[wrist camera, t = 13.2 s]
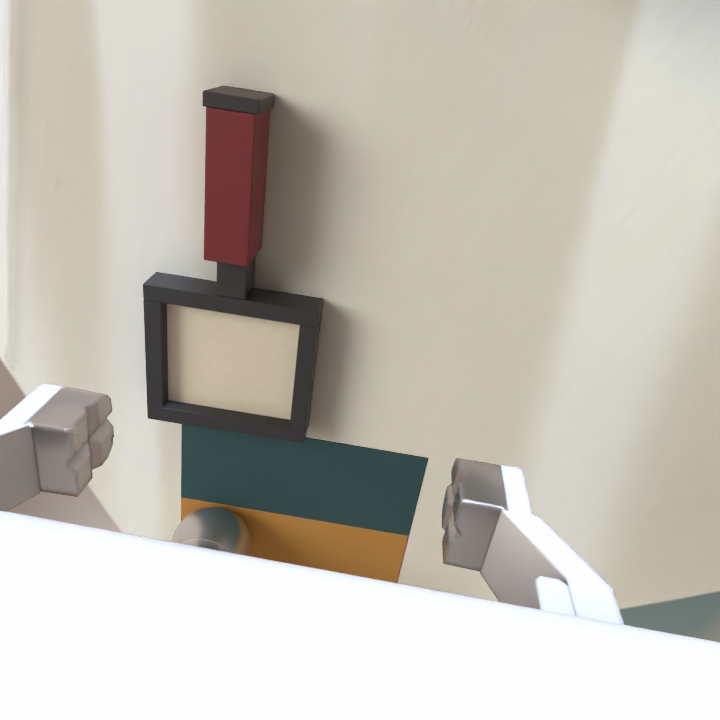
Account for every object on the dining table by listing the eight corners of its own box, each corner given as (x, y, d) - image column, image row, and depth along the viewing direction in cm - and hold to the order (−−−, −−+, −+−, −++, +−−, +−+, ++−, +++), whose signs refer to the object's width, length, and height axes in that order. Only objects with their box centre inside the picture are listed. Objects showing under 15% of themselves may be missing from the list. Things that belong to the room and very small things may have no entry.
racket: (151, 74, 37) (123, 78, 33) (346, 104, 37) (339, 112, 33) (159, 401, 48) (139, 430, 45) (308, 425, 48) (300, 456, 45)
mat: (427, 454, 49) (427, 458, 49) (395, 583, 56) (395, 587, 56) (183, 413, 49) (181, 416, 49) (182, 547, 56) (180, 551, 56)
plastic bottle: (196, 485, 52) (84, 715, 34) (269, 515, 53) (196, 754, 35) (173, 534, 55) (59, 768, 37) (243, 562, 56) (163, 804, 38)
